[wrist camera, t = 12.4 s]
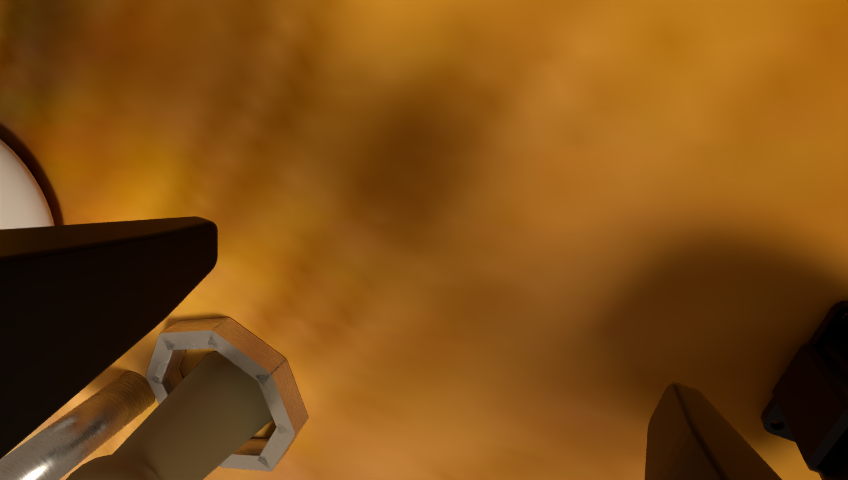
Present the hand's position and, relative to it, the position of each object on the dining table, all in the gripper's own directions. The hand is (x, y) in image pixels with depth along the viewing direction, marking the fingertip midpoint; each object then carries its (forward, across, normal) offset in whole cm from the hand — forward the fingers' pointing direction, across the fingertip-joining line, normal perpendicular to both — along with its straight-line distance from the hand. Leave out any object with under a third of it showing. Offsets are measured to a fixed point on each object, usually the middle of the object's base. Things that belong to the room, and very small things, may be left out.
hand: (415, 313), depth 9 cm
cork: (+13, +14, +20) cm, 27 cm away
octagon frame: (+13, +16, +21) cm, 29 cm away
